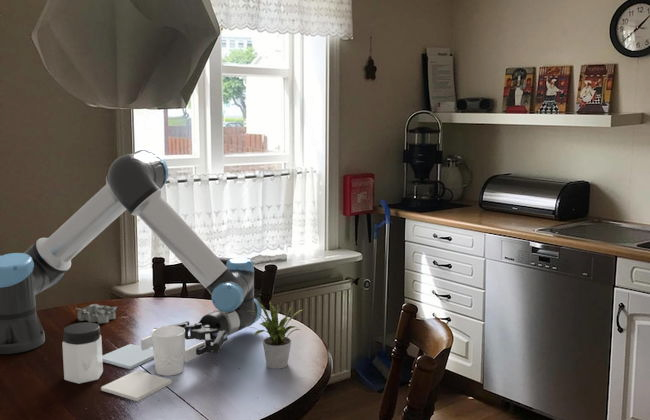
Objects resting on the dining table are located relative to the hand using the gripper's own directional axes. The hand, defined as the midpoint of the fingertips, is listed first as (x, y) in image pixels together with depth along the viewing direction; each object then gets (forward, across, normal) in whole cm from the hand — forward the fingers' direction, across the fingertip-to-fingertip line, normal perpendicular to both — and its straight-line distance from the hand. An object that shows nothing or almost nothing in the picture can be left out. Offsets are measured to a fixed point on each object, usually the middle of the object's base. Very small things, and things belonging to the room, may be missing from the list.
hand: (163, 350), depth 166 cm
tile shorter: (+9, 0, -6) cm, 11 cm away
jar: (+11, +15, -6) cm, 20 cm away
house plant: (-18, -19, -6) cm, 27 cm away
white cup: (-2, 0, -6) cm, 6 cm away
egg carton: (-20, +45, -6) cm, 50 cm away
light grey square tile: (-3, +14, -6) cm, 16 cm away
